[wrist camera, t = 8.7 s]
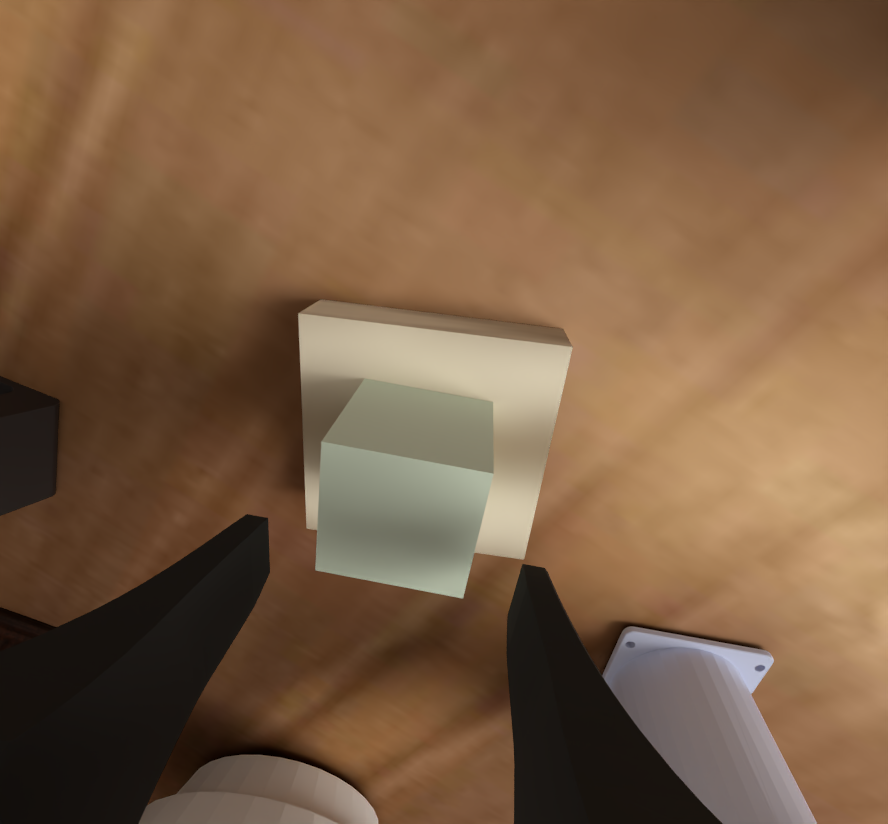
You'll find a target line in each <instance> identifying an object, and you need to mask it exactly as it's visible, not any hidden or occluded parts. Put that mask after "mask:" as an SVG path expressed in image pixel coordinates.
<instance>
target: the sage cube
mask: <svg viewBox="0 0 888 824" xmlns="http://www.w3.org/2000/svg"><path fill="white" fill-rule="evenodd" d="M493 474H494V452H493V402H490V401H485V400H479V399H474V398H468V397H463V396H458V395H452V394H447V393H441V392H436V391H430V390H425V389H420V388H414V387H409V386H403V385H398V384H392V383H387V382H382V381H376V380H371V379H364V380H363V382H362V383H361V385H360V386H359V388H358V389H357V391H356V392H355V393H354V395H353V396H352V398H351V399H350V401H349V402H348V404H347V405H346V407H345V408H344V409H343V411H342V412H341V414H340V415H339V417H338V418H337V420H336V421H335V423H334V424H333V425H332V427H331V428H330V430H329V431H328V433H327V434H326V436H325V437H324V439H323V440H322V441H321V461H320V482H319V503H318V525H317V546H316V567H315V570H317V571H322V572H327V573H332V574H337V575H343V576H348V577H353V578H358V579H364V580H369V581H374V582H379V583H385V584H390V585H395V586H400V587H405V588H411V589H416V590H421V591H426V592H432V593H437V594H442V595H447V596H452V597H458V598H463V596H464V592H465V588H466V584H467V580H468V576H469V572H470V568H471V564H472V560H473V556H474V552H475V547H476V543H477V539H478V535H479V531H480V527H481V523H482V519H483V515H484V511H485V507H486V503H487V499H488V495H489V491H490V486H491V482H492V478H493Z"/></svg>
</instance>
